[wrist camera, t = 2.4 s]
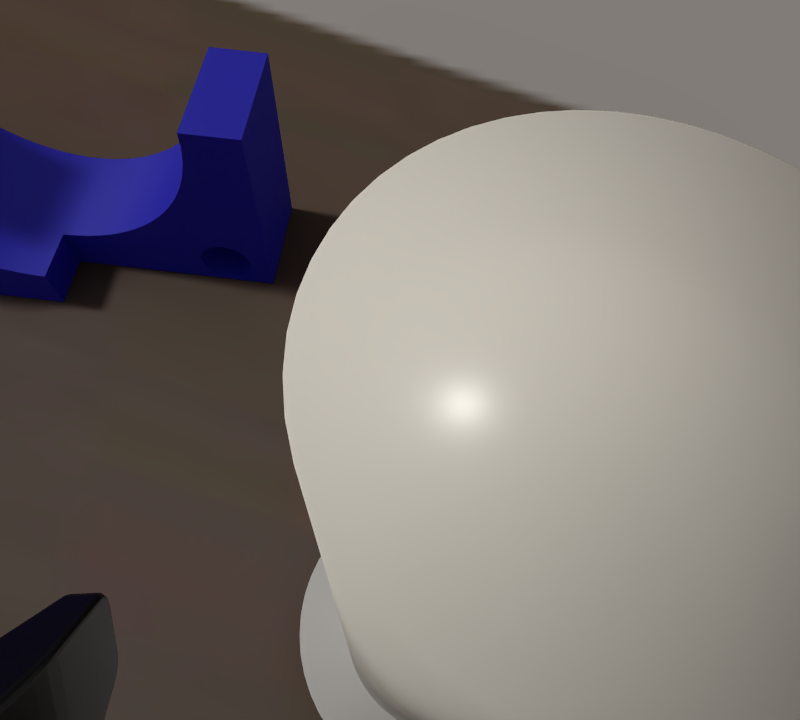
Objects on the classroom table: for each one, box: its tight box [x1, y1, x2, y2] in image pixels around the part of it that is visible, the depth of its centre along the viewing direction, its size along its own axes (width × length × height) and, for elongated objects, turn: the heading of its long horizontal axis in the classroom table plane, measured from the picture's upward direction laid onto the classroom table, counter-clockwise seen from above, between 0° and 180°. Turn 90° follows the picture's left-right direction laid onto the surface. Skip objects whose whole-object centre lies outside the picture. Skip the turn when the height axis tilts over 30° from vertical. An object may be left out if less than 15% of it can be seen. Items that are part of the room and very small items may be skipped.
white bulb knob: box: [283, 110, 800, 720], centre depth 10 cm, size 6×6×14 cm
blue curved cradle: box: [0, 47, 292, 302], centre depth 19 cm, size 12×4×6 cm, turn 84°
